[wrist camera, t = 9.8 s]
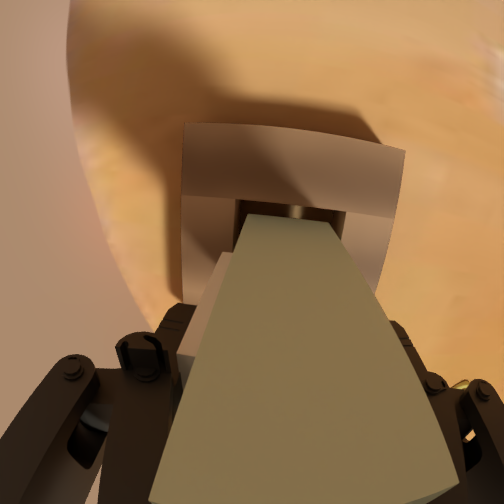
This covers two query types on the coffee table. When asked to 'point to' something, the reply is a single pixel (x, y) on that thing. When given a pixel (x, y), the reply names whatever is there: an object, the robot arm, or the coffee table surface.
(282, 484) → the sage peg
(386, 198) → the socket block
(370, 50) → the coffee table surface
